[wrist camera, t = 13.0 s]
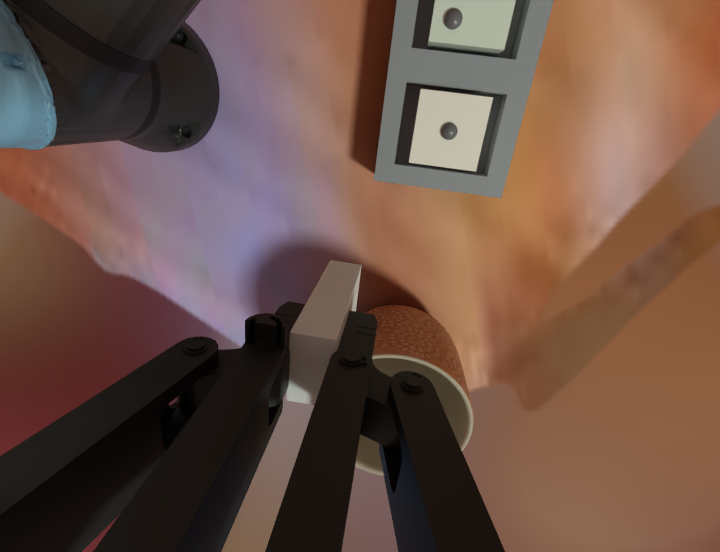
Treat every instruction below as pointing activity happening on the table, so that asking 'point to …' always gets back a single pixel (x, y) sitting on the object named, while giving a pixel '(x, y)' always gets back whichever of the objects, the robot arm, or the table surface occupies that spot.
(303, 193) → the table surface
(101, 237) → the table surface
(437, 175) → the tile board
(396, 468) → the robot arm
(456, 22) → the tile two
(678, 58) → the table surface
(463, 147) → the tile one
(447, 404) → the planter
